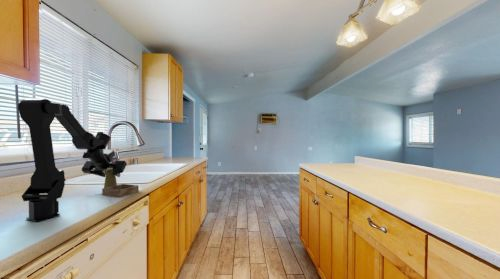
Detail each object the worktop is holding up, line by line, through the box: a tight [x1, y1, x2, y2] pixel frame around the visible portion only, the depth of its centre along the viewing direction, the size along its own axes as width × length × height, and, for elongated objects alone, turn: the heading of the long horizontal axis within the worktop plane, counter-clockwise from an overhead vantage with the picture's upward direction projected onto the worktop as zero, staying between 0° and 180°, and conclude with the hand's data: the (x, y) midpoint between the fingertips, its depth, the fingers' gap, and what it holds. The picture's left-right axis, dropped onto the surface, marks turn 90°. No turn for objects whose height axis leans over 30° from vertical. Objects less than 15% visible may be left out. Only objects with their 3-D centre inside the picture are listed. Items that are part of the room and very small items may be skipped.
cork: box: [103, 168, 118, 188], centre depth 110 cm, size 6×6×11 cm
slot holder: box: [101, 183, 139, 198], centre depth 104 cm, size 11×11×3 cm
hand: (112, 176), depth 112 cm, fingers open, 7 cm apart
